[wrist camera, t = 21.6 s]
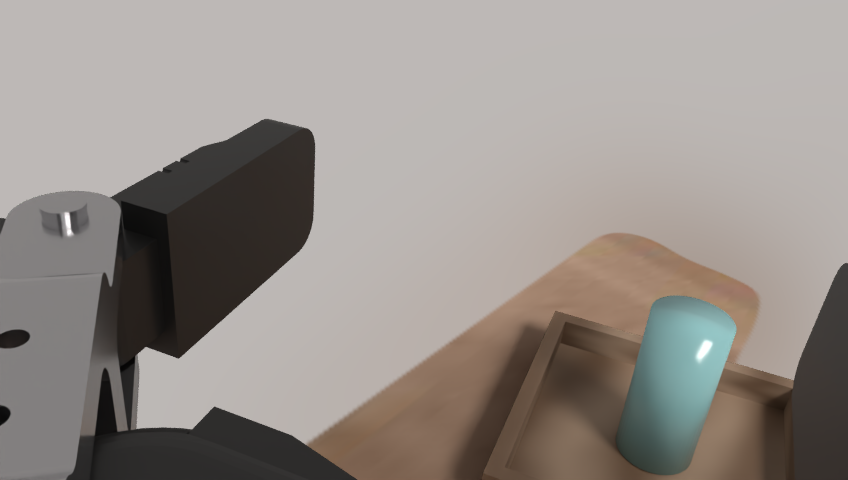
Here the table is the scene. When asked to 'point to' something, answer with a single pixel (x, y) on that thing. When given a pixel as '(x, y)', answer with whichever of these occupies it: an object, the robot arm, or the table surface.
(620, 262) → the table surface
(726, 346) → the teal canister
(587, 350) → the walnut tray
